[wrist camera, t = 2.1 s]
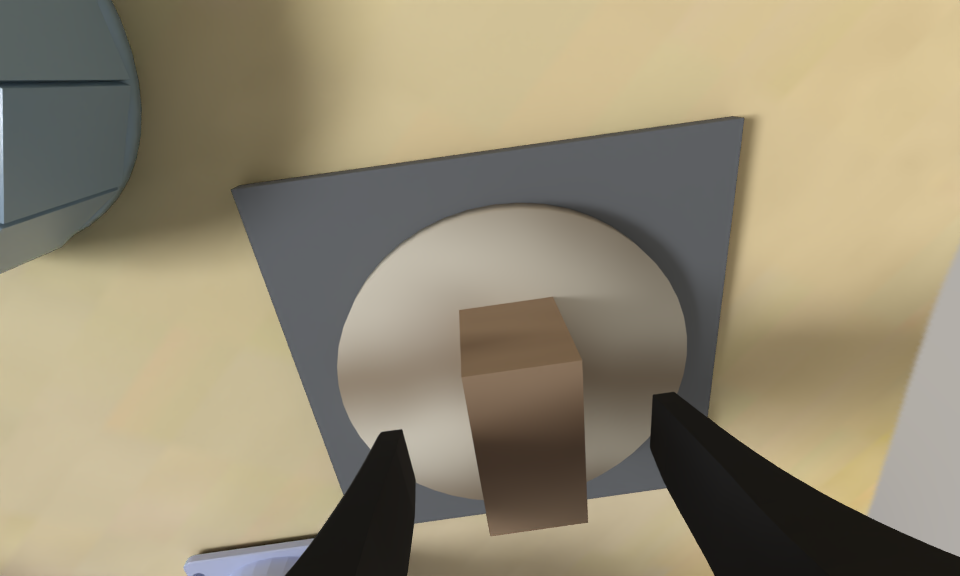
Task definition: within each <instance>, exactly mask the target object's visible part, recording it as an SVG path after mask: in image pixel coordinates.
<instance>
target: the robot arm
mask: <svg viewBox="0 0 960 576" xmlns="http://www.w3.org/2000/svg"><path fill="white" fill-rule="evenodd" d="M650 450H651V452H652V455H653V457H654V460H655V462H656V465H657V467H658V470H659V472H660V475H661V477H662V479H663V482H664V484H665V485H666V487H667V489H668V491H669V493H670V495H671V497H672V498H673V500H674V502H675V504H676V506H677V507H678V509H679V511H680V513H681V515H682V516H683V518H684V520H685V522H686V524H687V525H688V527H689V529H690V531H691V533H692V534H693V536H694V538H695V540H696V542H697V543H698V545H699V547H700V549H701V551H702V552H703V554H704V556H705V558H706V560H707V562H708V563H709V565H710V567H711V569H712V571H713V573H714V575H715V576H960V557H958V556H956V555H953V554H951V553H948V552H945V551H943V550H941V549H938V548H936V547H934V546H931V545H929V544H927V543H924V542H922V541H920V540H917V539H915V538H913V537H911V536H908V535H906V534H904V533H901V532H899V531H897V530H895V529H893V528H891V527H888V526H886V525H884V524H882V523H880V522H878V521H876V520H874V519H872V518H870V517H868V516H866V515H864V514H862V513H860V512H858V511H856V510H854V509H852V508H850V507H848V506H846V505H844V504H842V503H840V502H838V501H836V500H834V499H832V498H830V497H829V496H827V495H825V494H823V493H821V492H819V491H818V490H816V489H814V488H813V487H811V486H809V485H807V484H806V483H804V482H802V481H800V480H799V479H797V478H795V477H793V476H792V475H790V474H789V473H787V472H785V471H784V470H782V469H780V468H779V467H777V466H776V465H774V464H773V463H771V462H770V461H768V460H767V459H765V458H764V457H762V456H760V455H759V454H757V453H756V452H754V451H753V450H752V449H750V448H749V447H747V446H746V445H744V444H743V443H741V442H740V441H739V440H737V439H736V438H735V437H733V436H732V435H730V434H729V433H728V432H726V431H725V430H723V429H722V428H721V427H719V426H718V425H717V424H715V423H714V422H713V421H712V420H710V419H709V418H708V417H706V416H705V415H704V414H702V413H701V412H700V411H698V410H697V409H696V408H695V407H693V406H692V405H691V404H689V403H688V402H687V401H686V400H684V399H683V398H682V397H680V396H679V395H678V394H676V393H675V392H668V393H661V394H653V398H652V416H651V434H650ZM415 497H416V479H415V475H414V471H413V468H412V464H411V460H410V456H409V453H408V449H407V445H406V441H405V437H404V434H403V430H402V429H399V430H391V431H384V432H381V433H380V434H379V435H378V437H377V439H376V441H375V442H374V444H373V446H372V448H371V450H370V452H369V454H368V455H367V457H366V459H365V461H364V463H363V464H362V466H361V468H360V470H359V471H358V473H357V475H356V476H355V478H354V480H353V481H352V483H351V485H350V486H349V488H348V489H347V491H346V493H345V494H344V496H343V498H342V499H341V501H340V502H339V504H338V505H337V507H336V508H335V510H334V511H333V513H332V514H331V515H330V517H329V518H328V520H327V521H326V523H325V524H324V526H323V527H322V529H321V530H320V531H319V533H318V534H317V536H316V537H315V538H312V539H305V540H298V541H290V542H283V543H276V544H269V545H262V546H255V547H248V548H241V549H234V550H226V551H219V552H212V553H205V554H198V555H193V556H191V557H189V558H188V560H187V561H186V563H185V565H184V570H185V572H186V574H187V575H188V576H407V573H408V565H409V558H410V551H411V543H412V535H413V528H414V520H415Z"/></svg>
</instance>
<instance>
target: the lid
mask: <svg viewBox="0 0 960 576" xmlns="http://www.w3.org/2000/svg"><path fill="white" fill-rule="evenodd" d="M686 357H687V333H686V326H685V320H684V315H683V312H682V309H681V306H680V303H679V300H678V297H677V295H676V294H675V292H674V290H673V288H672V286H671V284H670V282H669V280H668V279H667V278H666V276H665V275H664V274H663V272H662V271H661V270H660V268H659V267H658V266H657V264H656V263H655V262H654V261H653V260H652V259H651V258H650V257H649V256H648V255H647V254H646V253H645V252H643V251H642V250H641V249H640V248H639V247H638V246H637V245H636V244H635V243H634V242H633V241H632V240H631V239H629V238H628V237H626V236H625V235H623V234H622V233H621V232H619V231H618V230H616V229H615V228H613V227H612V226H610V225H608V224H606V223H604V222H602V221H600V220H598V219H596V218H594V217H592V216H589V215H586V214H583V213H580V212H577V211H574V210H571V209H568V208H563V207H558V206H552V205H547V204H536V203H507V204H494V205H488V206H484V207H479V208H474V209H469V210H466V211H463V212H460V213H457V214H454V215H451V216H448V217H446V218H443V219H441V220H439V221H437V222H435V223H433V224H431V225H429V226H427V227H425V228H423V229H421V230H419V231H418V232H416V233H415V234H413V235H412V236H411V237H409V238H408V239H406V240H405V241H403V242H402V243H400V244H399V245H398V246H397V247H396V248H395V249H394V250H393V251H391V252H390V253H389V254H388V255H387V256H386V257H385V258H384V259H383V260H382V261H381V262H380V263H379V264H378V266H377V267H376V268H375V269H374V270H373V272H372V273H371V274H370V275H369V276H368V278H367V279H366V281H365V283H364V284H363V286H362V288H361V289H360V291H359V293H358V294H357V296H356V298H355V301H354V303H353V305H352V308H351V310H350V312H349V315H348V317H347V320H346V322H345V324H344V327H343V331H342V335H341V339H340V343H339V348H338V361H337V372H338V384H339V389H340V393H341V397H342V401H343V405H344V407H345V409H346V412H347V414H348V417H349V419H350V421H351V423H352V424H353V426H354V428H355V429H356V431H357V433H358V434H359V436H360V437H361V438H362V440H363V441H364V442H365V443H366V444H367V446H368V447H369V448H370V449H371V448H372V446H373V444H374V442H375V441H376V439H377V437H378V435H379V434H380V433H381V432H384V431H391V430H399V429H402V430H403V434H404V437H405V441H406V445H407V449H408V453H409V456H410V460H411V464H412V468H413V471H414V475H415V479H416V483H418V484H420V485H423V486H425V487H428V488H430V489H433V490H435V491H439V492H442V493H446V494H449V495H452V496H458V497H463V498H468V499H477V500H484V505H485V510H486V516H487V521H488V527H489V532H490V536H496V535H503V534H510V533H517V532H524V531H531V530H538V529H545V528H552V527H559V526H567V525H574V524H581V523H588V510H587V482H588V481H590V480H592V479H594V478H596V477H598V476H600V475H602V474H603V473H605V472H607V471H608V470H610V469H611V468H613V467H615V466H616V465H618V464H619V463H621V462H622V461H623V460H624V459H626V458H627V457H628V456H630V455H631V454H632V453H633V452H635V451H636V450H637V449H638V448H639V447H640V446H641V445H642V444H643V443H644V442H645V441H646V440H647V439H648V438H649V437H650V434H651V416H652V398H653V394H661V393H668V392H675V393H676V394H677V393H678V390H679V387H680V384H681V381H682V378H683V374H684V369H685V363H686Z"/></svg>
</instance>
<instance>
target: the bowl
mask: <svg viewBox="0 0 960 576" xmlns="http://www.w3.org/2000/svg"><path fill="white" fill-rule="evenodd" d="M141 113H142V108H141V99H140V89H139V80H138V76H137V72H136V67H135V63H134V59H133V54H132V51H131V48H130V45H129V42H128V39H127V36H126V33H125V31H124V28H123V25H122V22H121V19H120V17H119V15H118V13H117V11H116V9H115V7H114V5H113V2H112V0H0V274H1V273H3V272H6V271H8V270H10V269H12V268H15V267H17V266H19V265H22V264H24V263H26V262H28V261H31V260H33V259H35V258H38V257H40V256H42V255H45V254H47V253H49V252H51V251H54V250H56V249H58V248H60V247H62V246H63V245H64V244H65V243H66V242H67V241H68V240H69V239H70V238H71V237H72V236H73V235H74V234H76V233H78V232H79V231H81V230H83V229H85V228H86V227H88V226H90V225H91V224H92V223H93V222H95V221H96V220H97V219H98V218H100V217H101V216H102V215H103V214H104V213H106V211H107V210H108V209H109V208H110V207H111V205H112V204H113V203H114V202H115V201H116V200H117V198H118V197H119V195H120V194H121V192H122V190H123V189H124V187H125V185H126V183H127V182H128V180H129V178H130V175H131V172H132V169H133V166H134V164H135V161H136V158H137V153H138V147H139V142H140V136H141Z"/></svg>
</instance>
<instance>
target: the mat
mask: <svg viewBox="0 0 960 576" xmlns="http://www.w3.org/2000/svg"><path fill="white" fill-rule="evenodd" d="M743 125H744V118H741V117H733V116H731V117H724V118H717V119H710V120H703V121H696V122H689V123H681V124H674V125H667V126H660V127H653V128H646V129H639V130H631V131H624V132H617V133H610V134H603V135H596V136H589V137H581V138H574V139H567V140H560V141H553V142H546V143H539V144H531V145H524V146H517V147H510V148H503V149H496V150H489V151H481V152H474V153H467V154H460V155H453V156H446V157H439V158H431V159H424V160H417V161H410V162H403V163H396V164H388V165H381V166H374V167H367V168H360V169H353V170H346V171H338V172H331V173H324V174H317V175H310V176H303V177H296V178H288V179H281V180H274V181H267V182H260V183H253V184H246V185H239V186H237V187H235V188H233V189H231V192H232V195H233V197H234V200H235V203H236V205H237V208H238V211H239V214H240V216H241V219H242V222H243V224H244V227H245V230H246V232H247V235H248V238H249V241H250V243H251V246H252V249H253V251H254V254H255V257H256V260H257V262H258V265H259V268H260V270H261V273H262V276H263V278H264V281H265V284H266V287H267V289H268V292H269V295H270V297H271V300H272V303H273V305H274V308H275V311H276V314H277V316H278V319H279V322H280V324H281V327H282V330H283V333H284V335H285V338H286V341H287V343H288V346H289V349H290V351H291V354H292V357H293V360H294V362H295V365H296V368H297V370H298V373H299V376H300V378H301V381H302V384H303V387H304V389H305V392H306V395H307V397H308V400H309V403H310V405H311V408H312V411H313V414H314V416H315V419H316V422H317V424H318V427H319V430H320V433H321V435H322V438H323V441H324V443H325V446H326V449H327V451H328V454H329V457H330V460H331V462H332V465H333V468H334V470H335V473H336V476H337V478H338V481H339V484H340V487H341V489H342V492H343V495H344V494H345V493H346V491H347V489H348V488H349V486H350V485H351V483H352V481H353V480H354V478H355V476H356V475H357V473H358V471H359V470H360V468H361V466H362V464H363V463H364V461H365V459H366V457H367V455H368V454H369V452H370V450H371V449H370V448H369V447H368V446H367V444H366V443H365V442H364V441H363V440H362V438H361V437H360V436H359V434H358V433H357V431H356V429H355V428H354V426H353V424H352V423H351V421H350V419H349V417H348V414H347V412H346V409H345V407H344V405H343V401H342V397H341V393H340V389H339V384H338V372H337V361H338V348H339V343H340V339H341V335H342V331H343V327H344V324H345V322H346V320H347V317H348V315H349V312H350V310H351V308H352V305H353V303H354V301H355V298H356V296H357V294H358V293H359V291H360V289H361V288H362V286H363V284H364V283H365V281H366V279H367V278H368V276H369V275H370V274H371V273H372V272H373V270H374V269H375V268H376V267H377V266H378V264H379V263H380V262H381V261H382V260H383V259H384V258H385V257H386V256H387V255H388V254H389V253H390V252H391V251H393V250H394V249H395V248H396V247H397V246H398V245H399V244H400V243H402V242H403V241H405V240H406V239H408V238H409V237H411V236H412V235H413V234H415V233H416V232H418V231H419V230H421V229H423V228H425V227H427V226H429V225H431V224H433V223H435V222H437V221H439V220H441V219H443V218H446V217H448V216H451V215H454V214H457V213H460V212H463V211H466V210H469V209H474V208H479V207H484V206H488V205H494V204H507V203H536V204H547V205H552V206H558V207H563V208H568V209H571V210H574V211H577V212H580V213H583V214H586V215H589V216H592V217H594V218H596V219H598V220H600V221H602V222H604V223H606V224H608V225H610V226H612V227H613V228H615V229H616V230H618V231H619V232H621V233H622V234H623V235H625V236H626V237H628V238H629V239H631V240H632V241H633V242H634V243H635V244H636V245H637V246H638V247H639V248H640V249H641V250H642V251H643V252H645V253H646V254H647V255H648V256H649V257H650V258H651V259H652V260H653V261H654V262H655V263H656V264H657V266H658V267H659V268H660V270H661V271H662V272H663V274H664V275H665V276H666V278H667V279H668V280H669V282H670V284H671V286H672V288H673V290H674V292H675V294H676V295H677V297H678V300H679V303H680V306H681V309H682V312H683V315H684V320H685V326H686V333H687V357H686V363H685V369H684V374H683V378H682V381H681V384H680V387H679V390H678V393H677V394H678V395H679V396H680V397H682V398H683V399H684V400H686V401H687V402H688V403H689V404H691V405H692V406H693V407H695V408H696V409H697V410H698V411H700V412H701V413H702V414H704V415H705V416H706V417H708V409H709V401H710V393H711V384H712V376H713V368H714V360H715V352H716V344H717V336H718V328H719V320H720V311H721V303H722V295H723V287H724V279H725V271H726V263H727V255H728V246H729V238H730V230H731V222H732V214H733V206H734V198H735V190H736V181H737V173H738V165H739V157H740V149H741V141H742V133H743ZM664 488H667V487H666V485H665V484H664V482H663V479H662V477H661V475H660V472H659V470H658V467H657V465H656V462H655V460H654V457H653V455H652V452H651V450H650V437H649V438H648V439H647V440H646V441H645V442H644V443H643V444H642V445H641V446H640V447H639V448H638V449H637V450H636V451H635V452H633V453H632V454H631V455H630V456H628V457H627V458H626V459H624V460H623V461H622V462H621V463H619V464H618V465H616V466H615V467H613V468H611V469H610V470H608V471H607V472H605V473H603V474H602V475H600V476H598V477H596V478H594V479H592V480H590V481H588V482H587V499H593V498H600V497H607V496H614V495H621V494H628V493H635V492H642V491H649V490H657V489H664ZM479 514H486V510H485V505H484V500H477V499H468V498H463V497H458V496H452V495H449V494H446V493H442V492H439V491H435V490H433V489H430V488H428V487H425V486H423V485H420V484H418V483H416V497H415V520H414V524H415V523H422V522H429V521H436V520H443V519H450V518H457V517H464V516H472V515H479Z"/></svg>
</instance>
